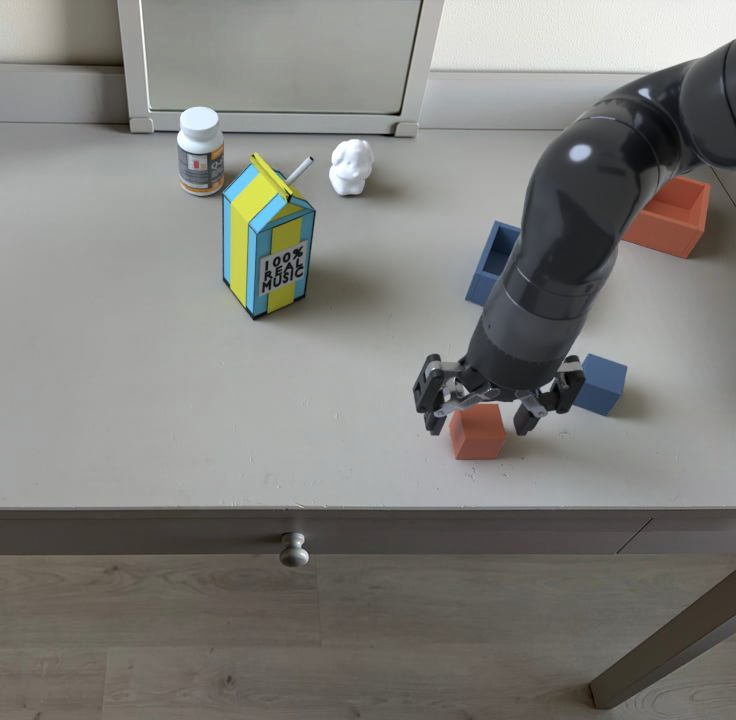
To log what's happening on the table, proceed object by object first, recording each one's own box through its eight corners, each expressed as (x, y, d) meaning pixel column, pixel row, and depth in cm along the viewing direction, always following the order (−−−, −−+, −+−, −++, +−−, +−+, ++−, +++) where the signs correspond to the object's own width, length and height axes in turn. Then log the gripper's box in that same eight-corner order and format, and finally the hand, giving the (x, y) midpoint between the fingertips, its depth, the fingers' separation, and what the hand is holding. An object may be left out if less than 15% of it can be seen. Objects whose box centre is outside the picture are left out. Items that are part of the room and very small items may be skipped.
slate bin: (561, 272, 93) (575, 245, 89) (545, 327, 88) (559, 300, 84) (484, 248, 95) (495, 220, 91) (464, 300, 90) (474, 272, 86)
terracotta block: (487, 425, 80) (498, 403, 76) (495, 459, 77) (506, 438, 74) (448, 425, 79) (458, 403, 76) (455, 459, 77) (465, 438, 74)
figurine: (330, 206, 99) (338, 155, 92) (321, 166, 103) (327, 115, 97) (372, 204, 99) (382, 154, 93) (361, 164, 104) (370, 113, 97)
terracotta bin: (693, 212, 100) (711, 184, 97) (686, 259, 95) (704, 231, 91) (619, 190, 102) (634, 162, 99) (608, 235, 97) (623, 207, 93)
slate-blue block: (612, 388, 83) (628, 366, 80) (606, 416, 81) (622, 395, 78) (574, 375, 84) (588, 352, 81) (567, 403, 82) (581, 381, 78)
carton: (312, 296, 89) (329, 171, 75) (254, 322, 87) (260, 198, 72) (278, 255, 93) (288, 129, 79) (222, 279, 91) (221, 153, 76)
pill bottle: (223, 198, 99) (222, 133, 91) (178, 197, 99) (173, 132, 91) (224, 169, 102) (224, 104, 94) (181, 168, 102) (177, 102, 94)
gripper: (450, 359, 61) (409, 461, 74) (628, 360, 61) (556, 462, 74) (435, 287, 65) (398, 396, 78) (601, 289, 66) (538, 396, 79)
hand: (475, 428), depth 76 cm, fingers open, 8 cm apart
